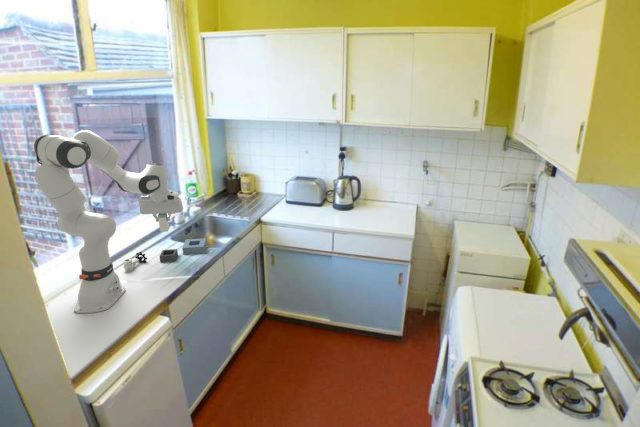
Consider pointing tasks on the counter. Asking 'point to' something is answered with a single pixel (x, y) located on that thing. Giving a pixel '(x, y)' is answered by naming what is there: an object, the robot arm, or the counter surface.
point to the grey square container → (168, 255)
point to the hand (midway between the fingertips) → (163, 221)
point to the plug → (163, 222)
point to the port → (194, 246)
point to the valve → (133, 262)
